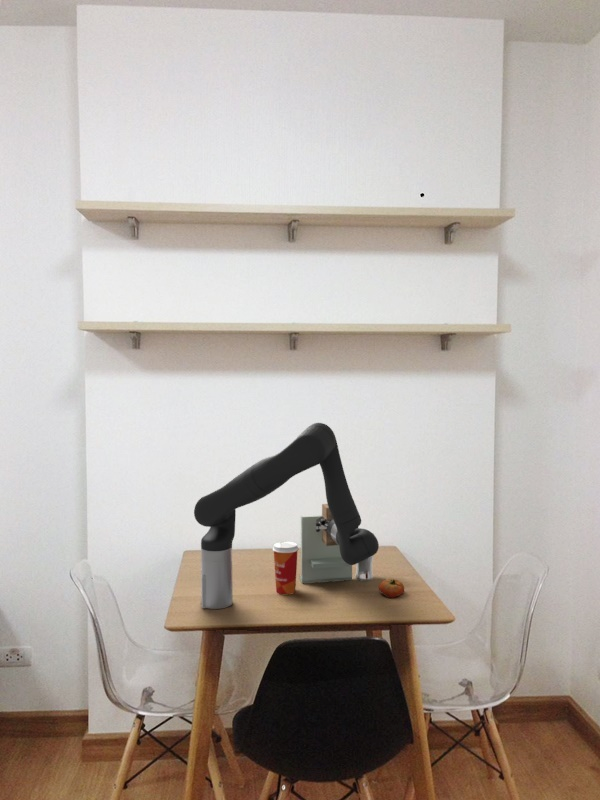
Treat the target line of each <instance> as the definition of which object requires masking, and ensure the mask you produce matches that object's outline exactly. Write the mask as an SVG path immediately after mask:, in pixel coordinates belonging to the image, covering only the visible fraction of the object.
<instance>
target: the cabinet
mask: <svg viewBox="0 0 600 800" xmlns="http://www.w3.org/2000/svg"><path fill="white" fill-rule="evenodd" d="M321 515H322V516H323V517H324V518H325V519H331V520H333V517H332V515H331V513H330V510H329V507H328V503H322V504H321ZM322 541H323V542H324V544H325V545H326V546H333V545H338V544H336V543H335V541H334V540H333V539H332V538H331V537H330V536H329V534H328V532H327V531H325V530H324V529H322Z"/></svg>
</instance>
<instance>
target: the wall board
mask: <svg viewBox="0 0 600 800" xmlns="http://www.w3.org/2000/svg"><path fill="white" fill-rule="evenodd" d="M320 517H322V514H311V515H309V514H308V515H300V575H299V576H298V577H299V578H298V579H299V581H300V582H301V584H302V583H304V584H312V583H313V584H315V583H314V582H318V583H328V582H329V581H332V582H342V581H344V580H346V581H352V580H353V565H349V564H347V563H346V562H345V561H344V560H343V559H342V557H341V554H340V547H339V545H333V546H326V545H325V544H324V542H323V541H322V529H321V531H319V532H316V520H317V519H319V518H320Z"/></svg>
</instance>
